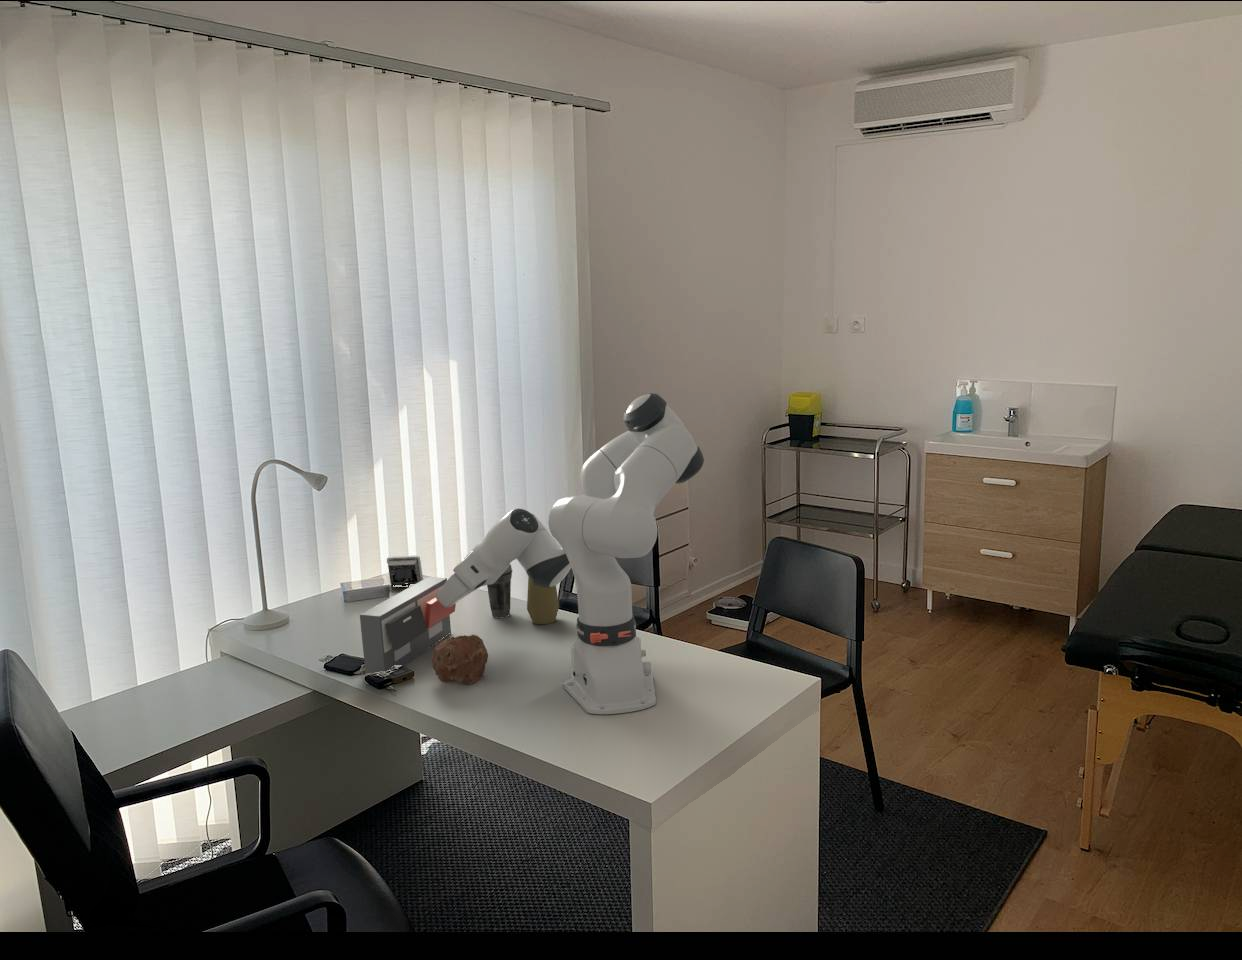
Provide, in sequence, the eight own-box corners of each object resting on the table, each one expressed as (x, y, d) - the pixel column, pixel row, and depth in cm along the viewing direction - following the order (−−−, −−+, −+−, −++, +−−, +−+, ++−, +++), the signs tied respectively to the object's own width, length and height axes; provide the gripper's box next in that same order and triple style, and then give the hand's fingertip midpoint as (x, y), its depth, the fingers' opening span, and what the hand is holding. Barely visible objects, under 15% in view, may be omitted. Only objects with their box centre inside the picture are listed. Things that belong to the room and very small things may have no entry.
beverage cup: (517, 610, 241) (513, 535, 237) (512, 619, 233) (506, 543, 230) (490, 610, 241) (485, 536, 238) (483, 620, 234) (478, 543, 230)
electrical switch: (424, 582, 268) (420, 552, 265) (421, 590, 263) (417, 559, 260) (391, 584, 268) (387, 554, 265) (387, 591, 263) (384, 561, 260)
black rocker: (427, 630, 210) (420, 605, 209) (397, 649, 199) (390, 623, 198) (422, 631, 210) (415, 606, 209) (392, 650, 199) (385, 624, 198)
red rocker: (455, 611, 223) (458, 588, 221) (428, 628, 212) (431, 604, 210) (450, 609, 223) (453, 586, 222) (423, 626, 212) (426, 602, 211)
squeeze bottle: (556, 627, 227) (552, 556, 224) (524, 626, 228) (519, 556, 225) (563, 615, 235) (559, 547, 232) (532, 615, 236) (528, 547, 233)
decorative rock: (454, 697, 189) (451, 650, 187) (419, 684, 196) (415, 639, 194) (501, 675, 199) (498, 631, 197) (465, 664, 206) (462, 621, 204)
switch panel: (451, 633, 226) (447, 578, 223) (386, 678, 200) (380, 616, 197) (433, 631, 227) (428, 576, 225) (365, 675, 202) (359, 614, 199)
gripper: (496, 543, 221) (463, 580, 226) (452, 567, 202) (417, 607, 207) (514, 562, 220) (480, 598, 225) (472, 588, 201) (436, 627, 206)
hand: (449, 603), depth 216 cm, fingers closed
